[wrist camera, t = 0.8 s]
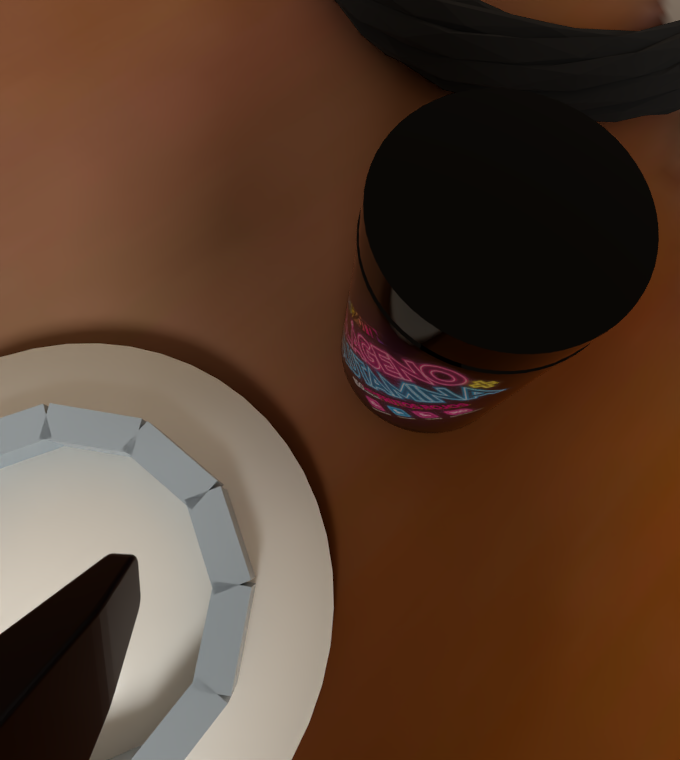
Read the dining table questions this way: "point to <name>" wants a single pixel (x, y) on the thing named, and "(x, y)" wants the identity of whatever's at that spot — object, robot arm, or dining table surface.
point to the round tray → (169, 545)
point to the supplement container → (489, 254)
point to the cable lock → (527, 55)
